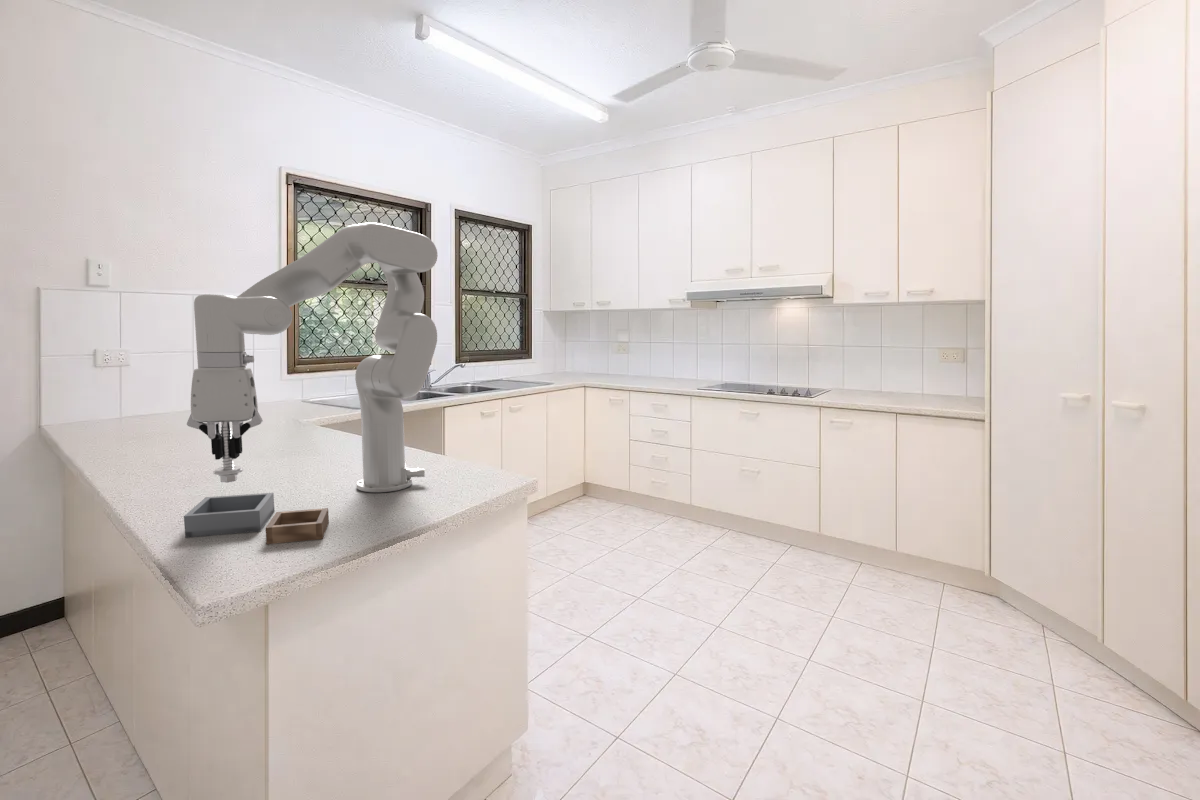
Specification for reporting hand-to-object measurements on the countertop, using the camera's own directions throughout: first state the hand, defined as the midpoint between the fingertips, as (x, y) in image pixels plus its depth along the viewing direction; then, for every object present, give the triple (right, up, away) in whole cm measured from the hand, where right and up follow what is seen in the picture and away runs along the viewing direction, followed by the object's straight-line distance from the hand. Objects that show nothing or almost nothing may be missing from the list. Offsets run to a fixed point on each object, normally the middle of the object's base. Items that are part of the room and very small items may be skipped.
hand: (227, 457), depth 109 cm
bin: (0, -13, +2) cm, 13 cm away
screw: (0, -5, +1) cm, 5 cm away
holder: (+15, -14, -2) cm, 21 cm away
